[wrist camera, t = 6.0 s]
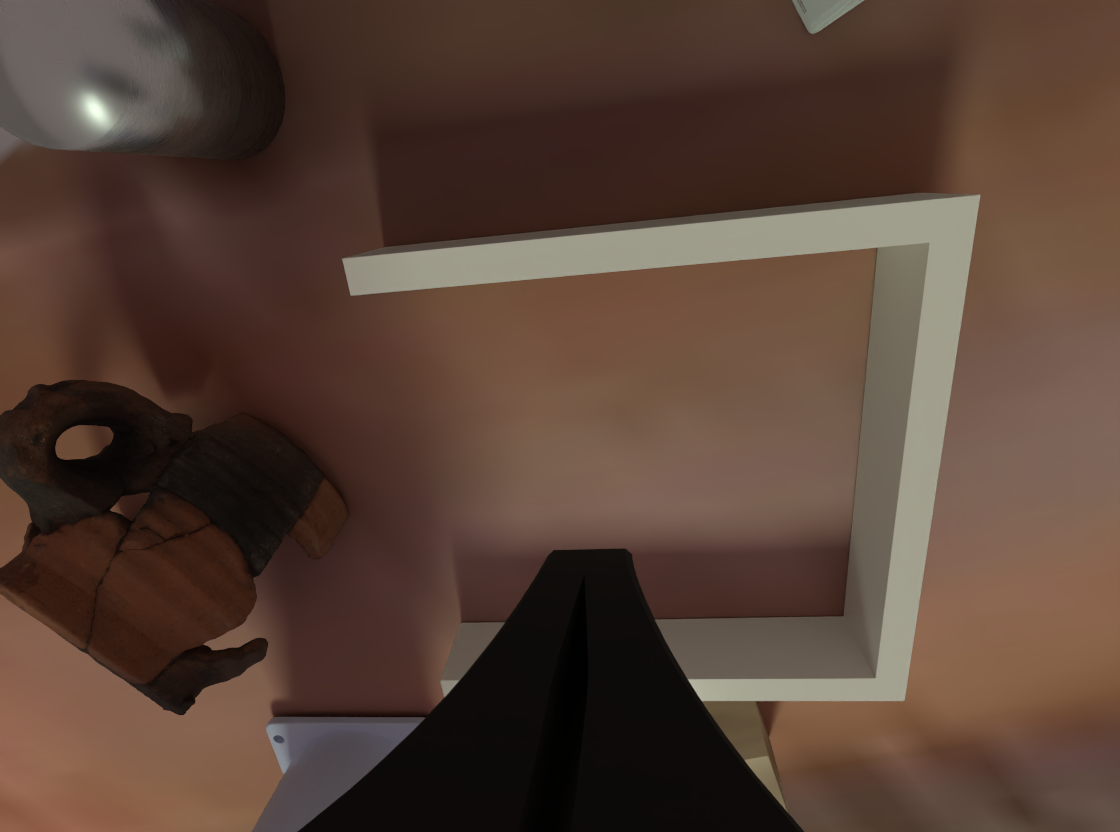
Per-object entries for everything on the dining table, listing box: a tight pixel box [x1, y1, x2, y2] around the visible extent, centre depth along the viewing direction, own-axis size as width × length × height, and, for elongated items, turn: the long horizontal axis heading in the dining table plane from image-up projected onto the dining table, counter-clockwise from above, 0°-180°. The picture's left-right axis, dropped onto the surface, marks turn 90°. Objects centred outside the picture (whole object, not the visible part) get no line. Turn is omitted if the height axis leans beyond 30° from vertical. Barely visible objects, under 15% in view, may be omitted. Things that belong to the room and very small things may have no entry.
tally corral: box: [342, 193, 980, 701], centre depth 19 cm, size 16×16×3 cm
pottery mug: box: [0, 380, 348, 715], centre depth 20 cm, size 12×10×8 cm
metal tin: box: [0, 0, 285, 160], centre depth 14 cm, size 4×4×6 cm
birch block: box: [702, 701, 790, 815], centre depth 23 cm, size 4×4×4 cm
